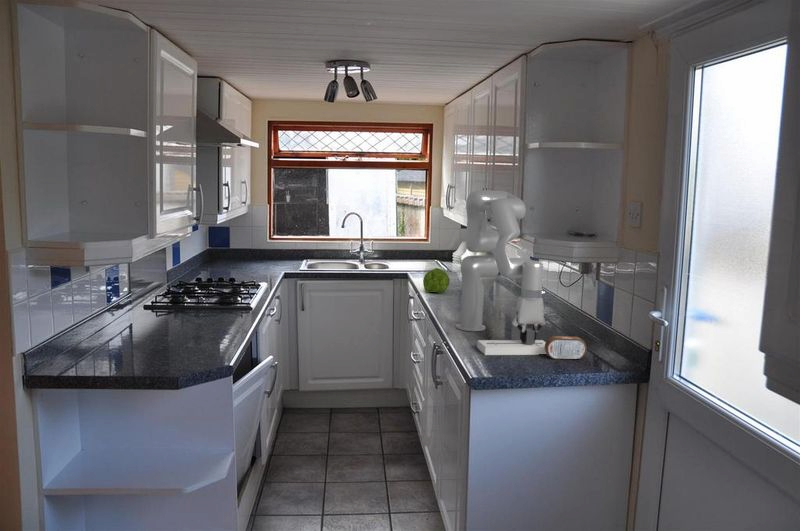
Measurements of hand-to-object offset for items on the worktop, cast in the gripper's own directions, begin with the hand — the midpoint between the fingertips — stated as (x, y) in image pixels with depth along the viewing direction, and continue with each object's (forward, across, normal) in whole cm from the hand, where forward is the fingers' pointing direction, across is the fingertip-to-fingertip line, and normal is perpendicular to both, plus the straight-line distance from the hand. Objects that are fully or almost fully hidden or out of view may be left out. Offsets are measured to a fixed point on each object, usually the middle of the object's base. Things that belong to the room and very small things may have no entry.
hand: (527, 341), depth 245 cm
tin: (+4, -10, +11) cm, 16 cm away
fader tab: (0, 0, 0) cm, 0 cm away
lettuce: (+4, +6, -130) cm, 130 cm away
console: (+4, +5, 0) cm, 6 cm away
